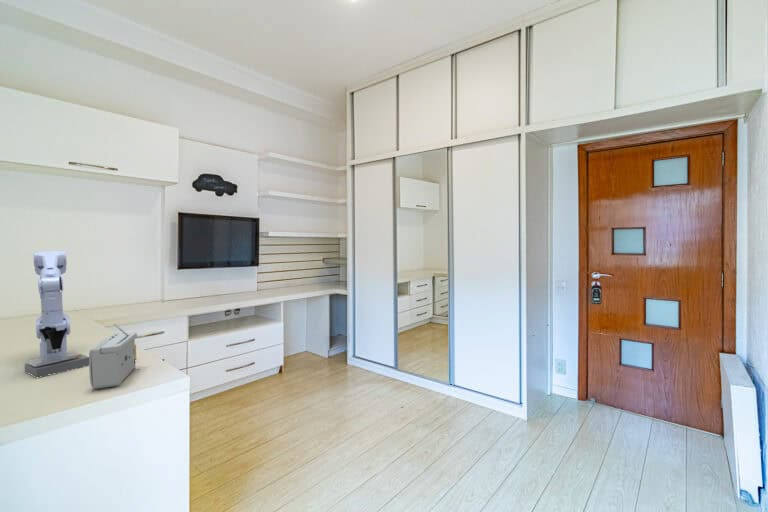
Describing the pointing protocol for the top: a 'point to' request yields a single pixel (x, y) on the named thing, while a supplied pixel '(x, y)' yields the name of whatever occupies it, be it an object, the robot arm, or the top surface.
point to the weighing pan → (53, 358)
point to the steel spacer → (49, 348)
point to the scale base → (57, 366)
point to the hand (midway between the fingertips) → (54, 348)
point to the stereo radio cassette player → (112, 360)
